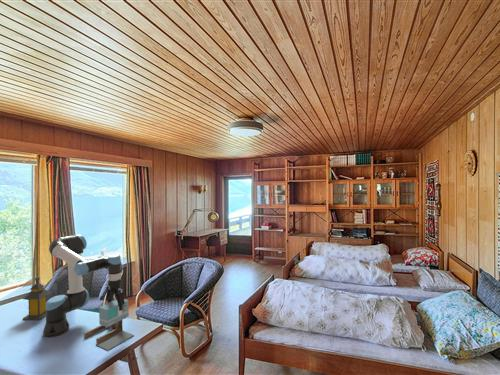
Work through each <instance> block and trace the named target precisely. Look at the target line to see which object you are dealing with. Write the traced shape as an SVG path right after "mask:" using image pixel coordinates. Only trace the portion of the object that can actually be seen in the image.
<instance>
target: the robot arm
mask: <svg viewBox="0 0 500 375" xmlns="http://www.w3.org/2000/svg"><path fill="white" fill-rule="evenodd" d="M87 244H88V243H87V240H86V238H85V236H83V235H82V234H73V235H67V236H66V235H65V236H61V237H58V238H55V239H54V240H52V241H51V242H50V244H49V245H48V246H49V247H48V252H49V254H50V255H51V256H53V257H54V258H59V259H60V260H62V261H64V263H67V272H68V273H67V274H68V275H67V277H68V290H66V295H65V294H59V295H54V296H53V297H51V298H49V299H48V300H47V302H46V307H45V309H46V317H45V325H44V327H43V330H42V335H43V337H45V338H52V337H53V338H54V337H58V336H60V335H64V334H65V333H67V332H68V331H69V329H70V323H69V321H68V318H67V313H70V312H73V311H76V310H78V309H82V308H83V307H85V306H86V305H87V304H88V303H89V300H90V294H89V291H88V290H87V289H86V288H85V287H84V286H83V275H87V274H90V273H93V272H97V271H99V270H103V269H105V270H107V275H108V276H107V277H108V280H107V281H108V282H107V283H108V286H106V293H105V294H106V295H105V301H106V302H107V304H108V303H110V302H113V301H114V299H113V298H114V296H115V300H117V302H118V306H117V309H118V316H119V315H121V314H122V305H123V304H125V302H124V299H125V296H124V288H120V287H121V285H122V259H121V257H122V256H121V255H119V254H111V255H109V256H106V255H100V256H97V258H94V259H91V260H90V259H89V260H88V259H86V258H85V257H83V256H82V254H83V253H84V250H86V248H87Z"/></svg>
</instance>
